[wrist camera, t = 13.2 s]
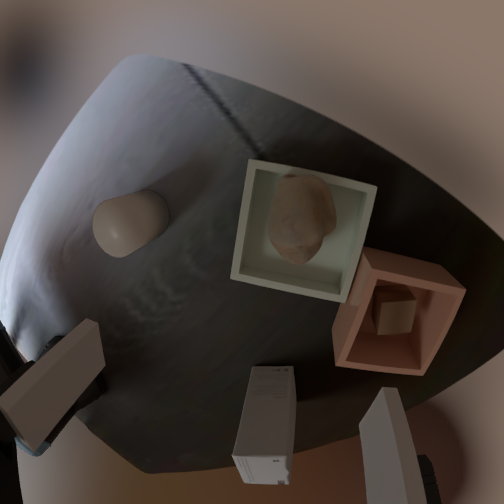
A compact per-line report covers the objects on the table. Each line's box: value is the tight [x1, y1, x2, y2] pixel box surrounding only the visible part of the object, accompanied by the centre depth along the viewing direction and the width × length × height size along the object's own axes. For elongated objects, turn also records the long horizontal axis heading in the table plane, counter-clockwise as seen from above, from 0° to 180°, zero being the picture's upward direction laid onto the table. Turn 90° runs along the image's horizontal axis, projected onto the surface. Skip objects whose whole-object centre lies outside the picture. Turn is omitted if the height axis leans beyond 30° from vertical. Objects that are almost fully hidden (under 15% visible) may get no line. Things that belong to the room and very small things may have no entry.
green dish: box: [230, 159, 377, 303], centre depth 29 cm, size 12×12×3 cm
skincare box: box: [232, 366, 296, 484], centre depth 31 cm, size 8×6×15 cm
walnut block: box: [371, 284, 417, 335], centre depth 29 cm, size 4×4×4 cm
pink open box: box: [332, 246, 466, 376], centre depth 28 cm, size 11×11×7 cm
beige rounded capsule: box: [92, 190, 169, 258], centre depth 30 cm, size 6×6×7 cm
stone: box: [268, 174, 337, 265], centre depth 27 cm, size 7×6×8 cm
